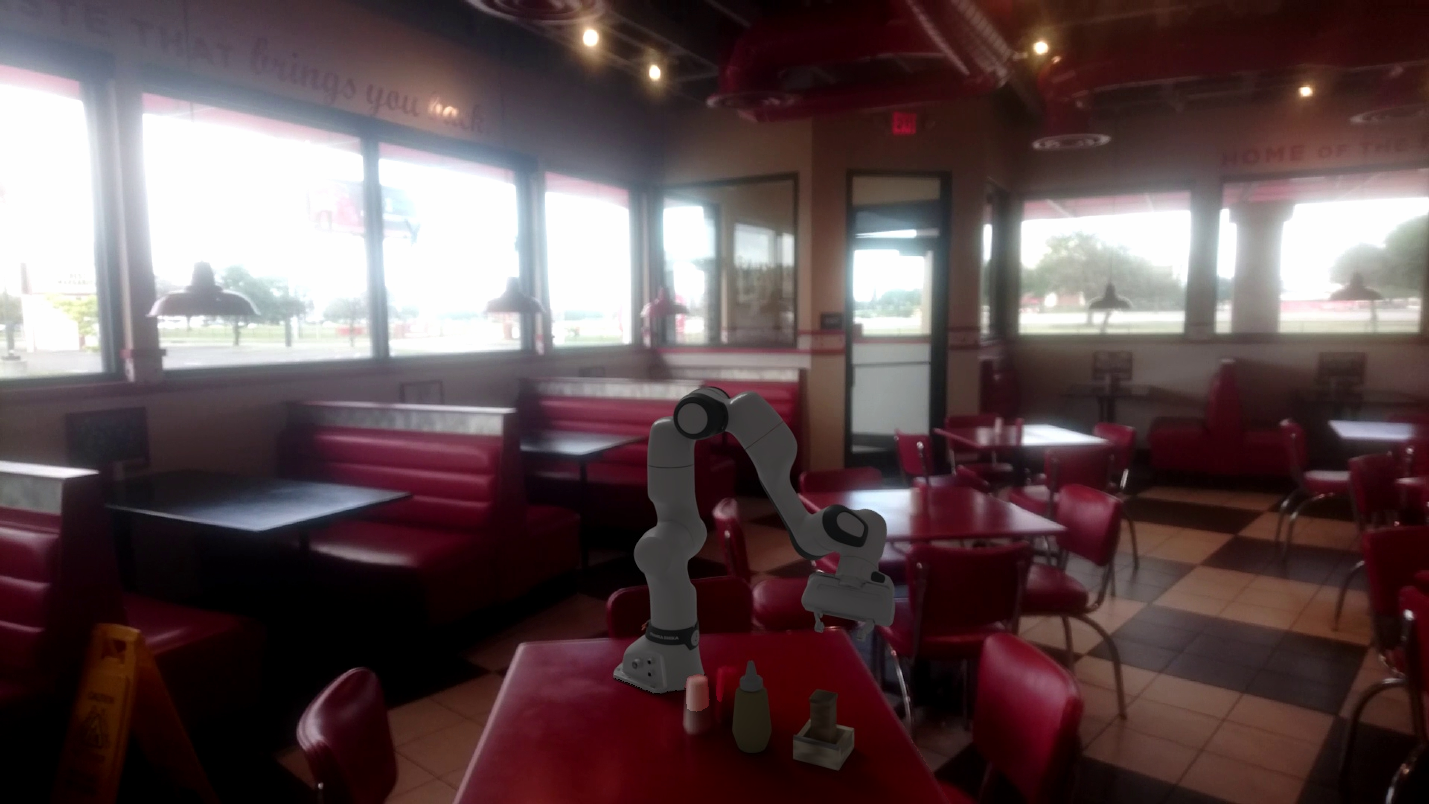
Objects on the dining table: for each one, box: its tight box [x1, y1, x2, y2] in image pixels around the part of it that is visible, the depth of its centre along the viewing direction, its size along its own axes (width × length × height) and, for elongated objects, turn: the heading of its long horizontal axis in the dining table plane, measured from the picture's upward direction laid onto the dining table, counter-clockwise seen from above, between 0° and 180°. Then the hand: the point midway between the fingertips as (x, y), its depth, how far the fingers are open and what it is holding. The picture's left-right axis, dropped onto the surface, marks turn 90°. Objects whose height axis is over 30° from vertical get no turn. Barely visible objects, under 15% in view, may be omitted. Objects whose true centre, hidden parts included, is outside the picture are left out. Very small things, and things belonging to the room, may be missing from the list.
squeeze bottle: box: [731, 660, 772, 754], centre depth 165 cm, size 8×8×18 cm
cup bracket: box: [792, 719, 855, 771], centre depth 163 cm, size 9×9×5 cm
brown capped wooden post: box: [808, 688, 839, 745], centre depth 162 cm, size 4×4×12 cm
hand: (838, 635), depth 174 cm, fingers open, 8 cm apart
